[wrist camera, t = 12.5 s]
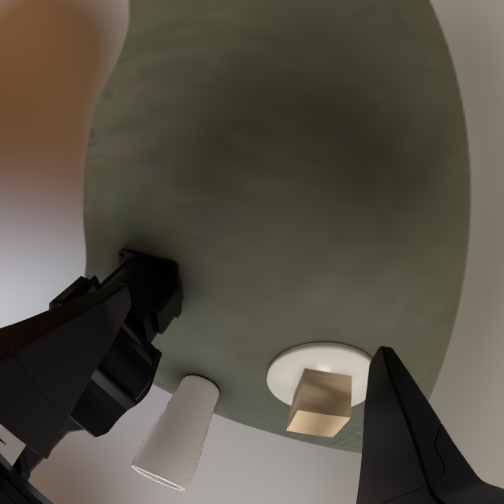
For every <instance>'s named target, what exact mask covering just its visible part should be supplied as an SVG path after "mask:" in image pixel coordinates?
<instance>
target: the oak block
mask: <svg viewBox="0 0 504 504" xmlns="http://www.w3.org/2000/svg"><path fill="white" fill-rule="evenodd" d="M351 399H352V376H348V375H341V374H335V373H329V372H323V371H317V370H312V369H307V368H305V369H304V371H303V374H302V376H301V378H300V381H299V383H298V385H297V387H296V390H295V392H294V396H293V401H292V406H291V411H290V416H289V421H288V426H287V431H293V432H299V433H305V434H312V435H319V436H327V437H333V436H334V435H335V434H336V433H337V432H338V431H339V430H340V429H341V428H342V427H343V426H344V425H345V424H346V422H347V421H348V420H349V419H350V418H351Z"/></svg>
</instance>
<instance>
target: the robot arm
mask: <svg viewBox="0 0 504 504" xmlns="http://www.w3.org/2000/svg"><path fill="white" fill-rule="evenodd" d="M123 254H124V255H123ZM118 255H119V261H120V266H119V267H118V268H117V269H116V270H115V271H114V272H113V273H112V274H111V275H109V276H108V277H107V278H106V279H105V280H104V281H103V282H102V283H101V284H100V283H99V280H98V278H97V277H96V276H93V277H92V278H91V279H90V280H89V279H88V278H87V279H86V278H84V277H82V276H80V277H79V278H78V279H77V280H76V281H75V282H74V283H72V284H71V285H70V286H69V287H68V288H67V289H65V290H64V291H63V292H62V293H61V294H59V295H58V296H57V297H56V298H55V299H54V300H52V302H50V303H49V310H48V311H45V312H43V313H40V314H38V315H36V316H33V317H31V318H28V319H26V320H23V321H20V322H18V323H15V324H12V325H9V326H6V327H3V328H0V504H53V503H52V502H51V501H50V500H49V499H47V498H46V497H45V496H44V495H43V494H41V493H40V492H39V491H38V490H37V489H36V488H35V487H33V486H32V485H31V484H30V483H29V482H28V479H29V477H30V473H31V472H32V471H33V469H34V468H35V467H36V466H37V465H38V464H39V463H40V462H41V461H42V460H43V459H44V458H45V459H47V458H48V457H49V455H50V453H51V451H52V449H53V448H54V447H55V446H56V445H57V444H58V443H59V441H61V439H62V438H63V437H64V436H65V435H66V434H68V433H69V432H74V431H81V430H86V431H87V432H88V433H90V434H91V435H92V436H94V437H98V436H101V435H104V434H106V433H107V432H109V430H110V429H111V428H112V427H113V425H114V424H115V423H116V421H117V420H118V419H119V418H120V417H121V416H122V415H123V414H124V413H125V412H126V411H127V410H129V409H130V408H132V407H134V406H136V405H137V404H138V403H139V402H141V401H142V400H143V398H144V397H145V396H146V395H147V393H148V392H149V390H150V388H151V386H152V383H153V380H154V376H155V373H156V370H157V367H158V364H159V361H160V358H161V355H162V353H161V352H160V351H159V350H158V349H156V348H155V347H154V346H153V345H152V344H151V342H152V341H153V339H154V338H155V336H156V335H157V333H159V334H162V333H164V331H165V330H166V328H167V327H168V325H169V324H170V322H171V321H172V320H173V318H174V317H176V318H177V317H179V316H180V314H181V306H182V304H181V291H180V285H179V282H178V267H177V264H176V263H175V262H173V261H170V260H166V259H162V258H158V257H154V256H150V255H146V254H142V253H138V252H135V251H131V250H127V249H121V250H120V251H119V252H118ZM171 266H172V267H173V268H171ZM356 504H504V489H503V488H500V487H496V486H493V485H490V484H488V483H486V482H484V481H482V480H481V479H480V478H479V477H478V476H477V475H476V473H475V472H474V470H473V469H472V468H471V467H470V465H469V464H468V462H467V461H466V459H465V458H464V456H463V455H462V454H461V452H460V451H459V450H458V448H457V446H456V445H455V444H454V442H453V441H452V439H451V437H450V436H449V434H448V433H447V431H446V429H445V428H444V426H443V424H441V421H440V420H439V418H438V416H437V415H436V413H435V412H434V410H433V408H432V407H431V405H430V404H429V402H428V400H427V399H426V397H425V396H424V394H423V393H422V391H421V390H420V388H419V387H418V385H417V384H416V382H415V381H414V379H413V378H412V376H411V375H410V373H409V372H408V370H407V369H406V367H405V366H404V364H403V363H402V361H401V360H400V358H399V357H398V356H397V354H396V353H395V351H394V350H393V349H392V348H391V347H386V346H381V347H379V349H378V350H377V352H376V353H375V355H374V357H373V358H372V360H371V362H370V365H369V372H368V382H367V390H366V398H365V407H364V431H363V447H362V460H361V471H360V479H359V487H358V494H357V501H356Z"/></svg>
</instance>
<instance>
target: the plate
mask: <svg viewBox="0 0 504 504" xmlns="http://www.w3.org/2000/svg"><path fill="white" fill-rule="evenodd" d="M371 360H372V358H371V357H370V356H368V355H367V354H366V353H365V352H363V351H361V350H359V349H357V348H355V347H352V346H349V345H345V344H340V343H333V342H315V343H307V344H302V345H298V346H295V347H292V348H290V349H287V350H286V351H284V352H282V353H281V354H279V355H278V356H277V357H276V358H275V359H274V360H273V361H272V363H271V365H270V367H269V371H268V375H267V384H268V387H269V389H270V391H271V392H272V393H273V394H274V395H275V396H276V397H277V398H278V399H280V400H281V401H283V402H284V403H286V404H288V405H291V406H292V401H293V396H294V392H295V390H296V387H297V385H298V383H299V381H300V378H301V376H302V374H303V371H304V369H305V368H307V369H312V370H317V371H323V372H329V373H335V374H341V375H348V376H352V399H351V407H352V406H354V405H357V404H359V403H361V402H362V401H364V400H365V398H366V390H367V382H368V372H369V365H370V362H371Z"/></svg>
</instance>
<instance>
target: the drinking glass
mask: <svg viewBox="0 0 504 504" xmlns="http://www.w3.org/2000/svg"><path fill="white" fill-rule="evenodd" d="M218 398H219V390H218V388H217V387H216V386H215V385H214V384H213V383H212V382H211V381H209V380H207V379H205V378H203V377H200V376H195V375H189V376H186V377H184V378H183V379H182V381H181V383H180V384H179V386H178V388H177V390H176V392H175V393H174V395H173V396H172V398H171V399H170V401H169V402H168V404H167V406H166V407H165V409H164V410H163V412H162V413H161V415H160V416H159V418H158V419H157V421H156V422H155V423H154V425H153V426H152V428H151V429H150V431H149V433H148V434H147V436H146V437H145V439H144V440H143V442H142V444H141V446H140V448H139V449H138V451H137V453H136V456H135V458H134V460H133V462H132V464H131V467H132V468H133V469H135V470H136V471H138V472H139V473H141V474H142V475H144V476H146V477H148V478H150V479H152V480H154V481H157V482H159V483H161V484H163V485H166V486H169V487H171V488H174V489H177V490H181V491H186V490H187V487H188V485H189V484H190V482H191V479H192V477H193V475H194V473H195V470H196V468H197V465H198V462H199V459H200V456H201V452H202V449H203V445H204V442H205V438H206V435H207V431H208V428H209V424H210V421H211V418H212V415H213V412H214V408H215V405H216V403H217V400H218Z"/></svg>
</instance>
